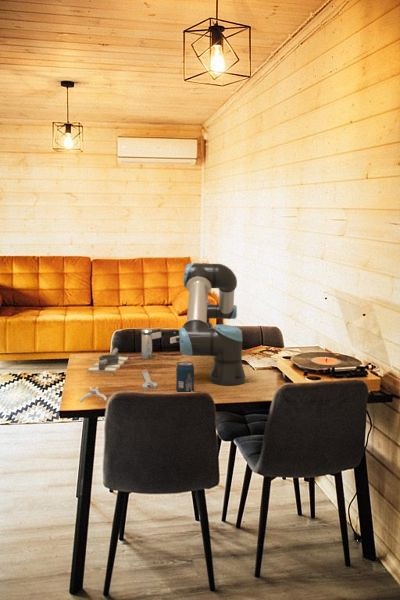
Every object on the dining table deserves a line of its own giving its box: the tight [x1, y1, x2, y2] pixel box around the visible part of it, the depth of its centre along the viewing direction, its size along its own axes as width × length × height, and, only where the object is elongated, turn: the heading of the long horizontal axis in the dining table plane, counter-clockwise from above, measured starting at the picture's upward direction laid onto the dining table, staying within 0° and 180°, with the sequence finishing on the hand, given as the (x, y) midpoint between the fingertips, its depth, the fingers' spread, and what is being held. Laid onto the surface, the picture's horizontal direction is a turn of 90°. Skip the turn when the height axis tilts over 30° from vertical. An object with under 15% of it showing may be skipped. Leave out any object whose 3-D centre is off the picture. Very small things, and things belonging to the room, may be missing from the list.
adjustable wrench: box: [141, 370, 159, 391], centre depth 242 cm, size 25×6×2 cm, turn 6°
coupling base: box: [86, 347, 130, 375], centre depth 265 cm, size 26×12×5 cm, turn 173°
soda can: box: [175, 361, 195, 393], centre depth 225 cm, size 7×7×12 cm
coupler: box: [140, 327, 153, 360], centre depth 279 cm, size 5×5×14 cm
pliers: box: [79, 386, 107, 403], centre depth 222 cm, size 10×2×15 cm
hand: (160, 338), depth 286 cm, fingers open, 13 cm apart
